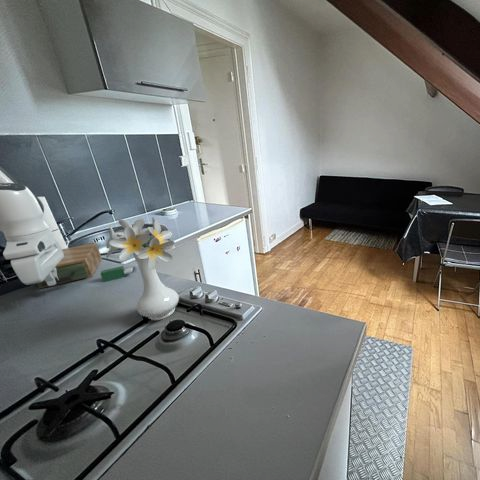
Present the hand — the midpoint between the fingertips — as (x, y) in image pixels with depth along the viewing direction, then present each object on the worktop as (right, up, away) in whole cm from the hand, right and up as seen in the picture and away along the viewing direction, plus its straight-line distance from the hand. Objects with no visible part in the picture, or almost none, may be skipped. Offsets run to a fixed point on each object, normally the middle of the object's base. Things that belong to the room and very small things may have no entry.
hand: (54, 283), depth 79 cm
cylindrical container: (-23, +5, +25) cm, 34 cm away
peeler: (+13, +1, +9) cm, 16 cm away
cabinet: (-8, +2, +15) cm, 17 cm away
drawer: (-6, +1, +11) cm, 12 cm away
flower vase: (+40, -6, -11) cm, 42 cm away
